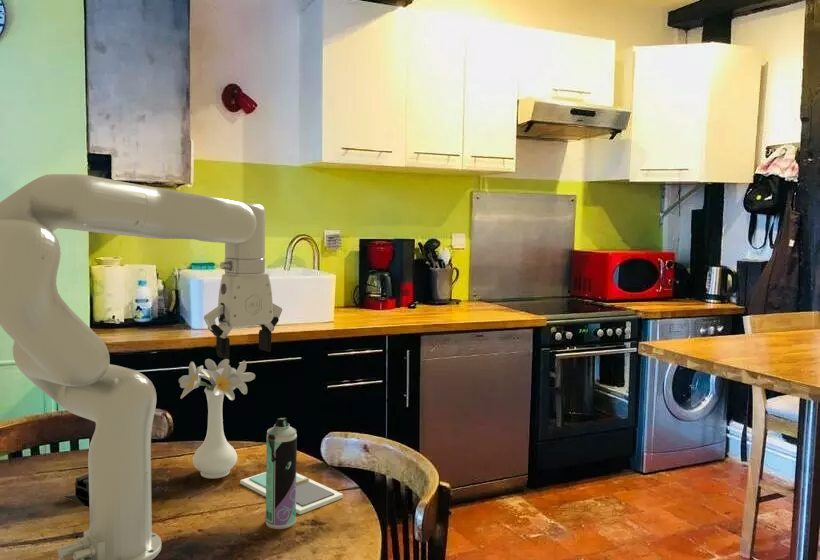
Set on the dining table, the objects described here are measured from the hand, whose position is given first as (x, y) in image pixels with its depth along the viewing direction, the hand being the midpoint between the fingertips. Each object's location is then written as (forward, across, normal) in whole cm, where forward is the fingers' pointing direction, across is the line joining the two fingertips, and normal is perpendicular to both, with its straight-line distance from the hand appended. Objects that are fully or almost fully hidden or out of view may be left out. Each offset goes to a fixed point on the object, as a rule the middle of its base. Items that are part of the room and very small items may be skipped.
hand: (244, 353), depth 135 cm
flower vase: (+30, +3, +15) cm, 34 cm away
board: (+30, +9, -4) cm, 31 cm away
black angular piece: (+30, -22, +22) cm, 43 cm away
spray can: (+30, -1, -14) cm, 33 cm away
